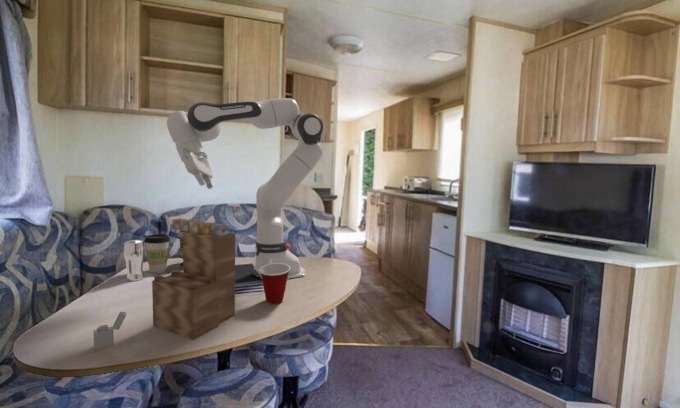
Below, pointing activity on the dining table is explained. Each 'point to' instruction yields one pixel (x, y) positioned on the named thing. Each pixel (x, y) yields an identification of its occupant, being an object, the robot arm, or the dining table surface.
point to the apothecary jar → (181, 244)
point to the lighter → (107, 333)
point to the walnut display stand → (197, 287)
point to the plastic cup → (274, 281)
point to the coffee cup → (157, 252)
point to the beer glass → (134, 259)
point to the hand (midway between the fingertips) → (206, 186)
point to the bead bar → (199, 227)
